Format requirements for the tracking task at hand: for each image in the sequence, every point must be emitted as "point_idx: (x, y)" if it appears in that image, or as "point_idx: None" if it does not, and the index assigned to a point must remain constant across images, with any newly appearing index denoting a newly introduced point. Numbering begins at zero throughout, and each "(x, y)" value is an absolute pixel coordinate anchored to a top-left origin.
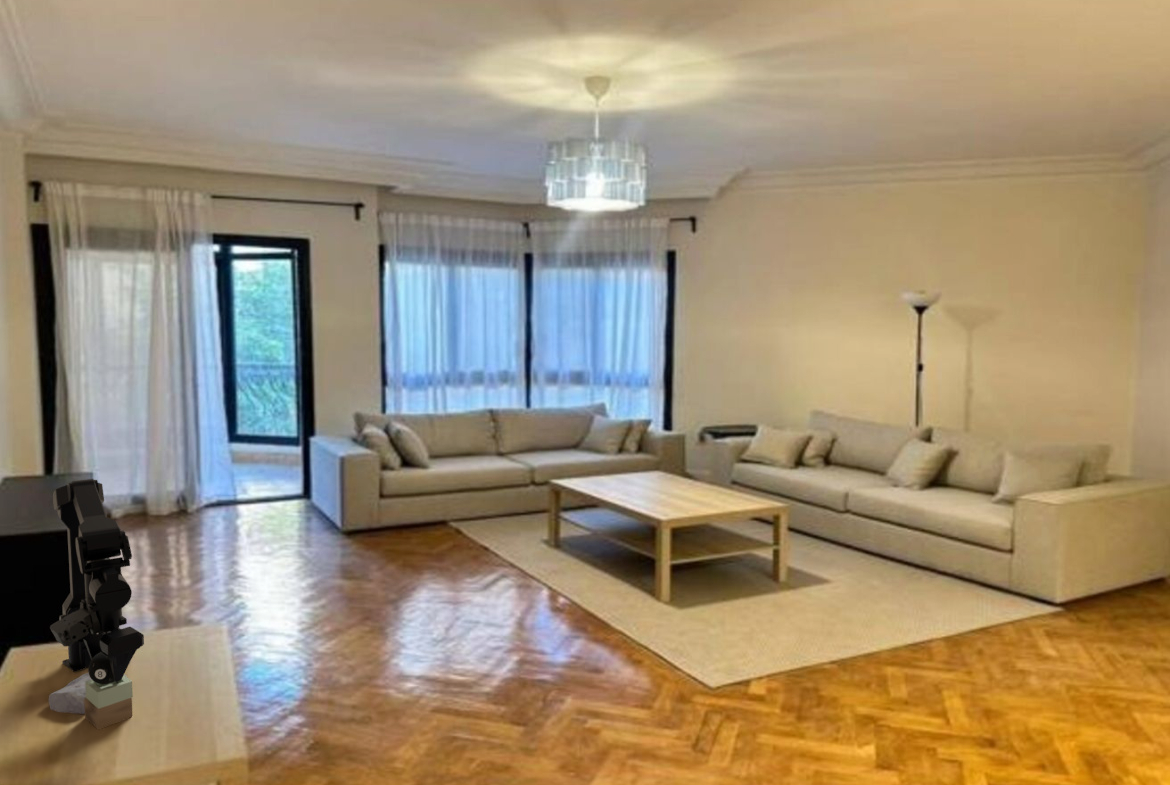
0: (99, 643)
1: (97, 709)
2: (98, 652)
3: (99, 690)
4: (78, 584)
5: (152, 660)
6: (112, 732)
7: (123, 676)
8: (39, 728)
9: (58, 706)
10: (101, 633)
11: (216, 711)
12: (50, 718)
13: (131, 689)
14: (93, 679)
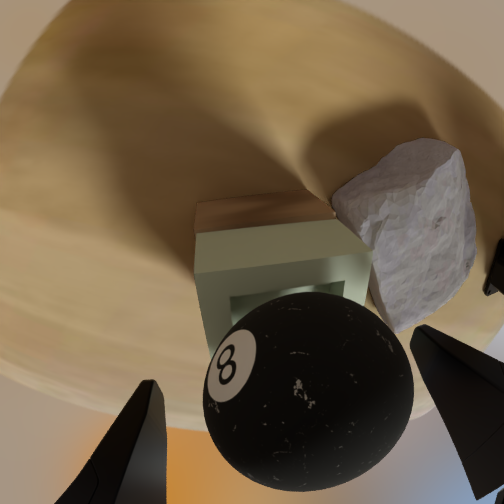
0: (468, 425)
1: (194, 229)
2: (445, 388)
3: (214, 286)
4: None
5: None
6: (147, 232)
7: None
8: (338, 67)
9: (410, 150)
10: (488, 464)
11: None
12: (377, 113)
13: None
14: (272, 303)
